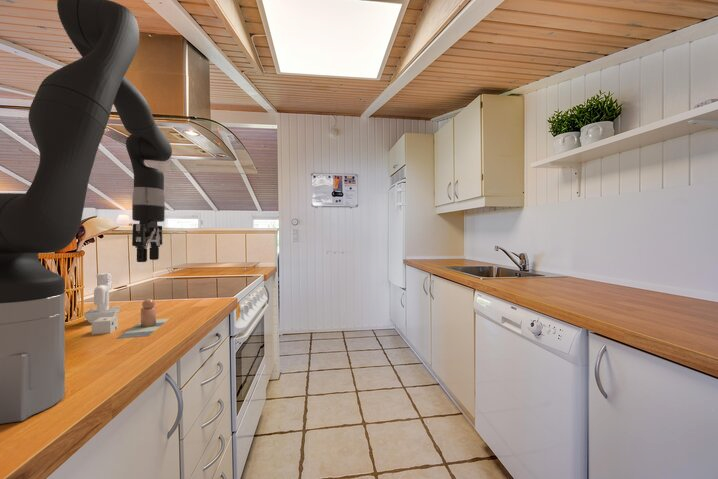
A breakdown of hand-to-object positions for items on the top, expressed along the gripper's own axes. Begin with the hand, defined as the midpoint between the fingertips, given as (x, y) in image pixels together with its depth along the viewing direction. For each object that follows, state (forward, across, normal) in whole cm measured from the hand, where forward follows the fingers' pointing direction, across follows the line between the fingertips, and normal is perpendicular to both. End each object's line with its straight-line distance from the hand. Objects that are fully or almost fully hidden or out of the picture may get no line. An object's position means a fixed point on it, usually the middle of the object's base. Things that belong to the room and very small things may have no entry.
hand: (148, 260), depth 82 cm
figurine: (+20, +9, +15) cm, 26 cm away
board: (+19, -2, 0) cm, 19 cm away
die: (+20, -3, +9) cm, 22 cm away
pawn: (+19, 0, 0) cm, 19 cm away
